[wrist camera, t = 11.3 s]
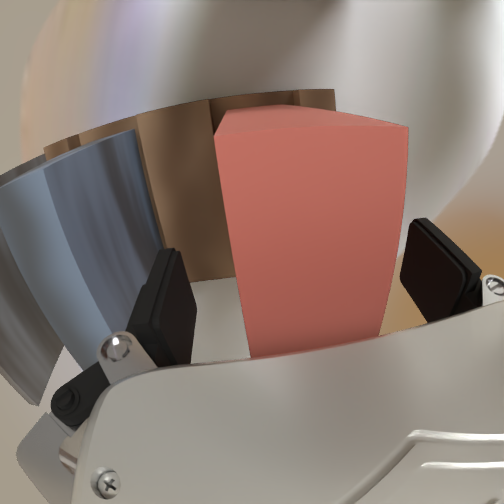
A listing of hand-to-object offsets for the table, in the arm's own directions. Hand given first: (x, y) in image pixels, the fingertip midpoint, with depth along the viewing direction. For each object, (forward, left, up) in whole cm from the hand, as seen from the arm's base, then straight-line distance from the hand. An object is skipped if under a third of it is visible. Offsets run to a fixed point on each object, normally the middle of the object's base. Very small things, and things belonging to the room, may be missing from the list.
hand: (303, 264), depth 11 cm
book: (0, 0, -12) cm, 12 cm away
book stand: (+6, 0, -13) cm, 15 cm away
